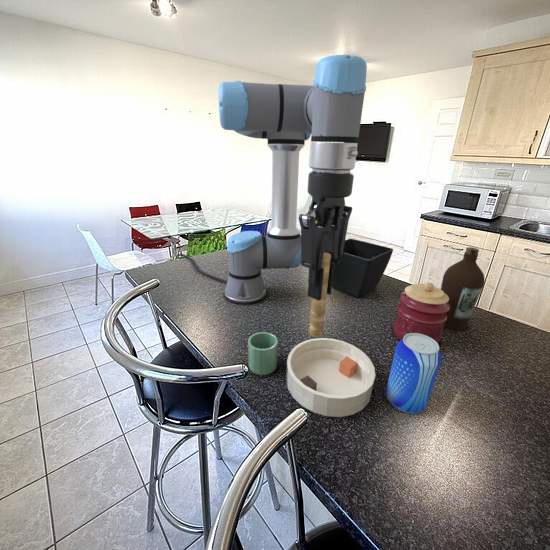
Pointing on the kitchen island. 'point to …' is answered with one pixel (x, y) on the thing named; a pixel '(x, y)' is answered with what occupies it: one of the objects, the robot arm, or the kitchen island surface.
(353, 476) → the kitchen island surface
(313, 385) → the walnut block
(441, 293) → the kitchen canister
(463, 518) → the kitchen island surface
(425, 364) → the beer can
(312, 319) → the stir stick
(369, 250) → the flower pot
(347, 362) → the terracotta block
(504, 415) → the kitchen island surface
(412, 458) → the kitchen island surface
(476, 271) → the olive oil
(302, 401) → the bowl
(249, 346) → the cup
